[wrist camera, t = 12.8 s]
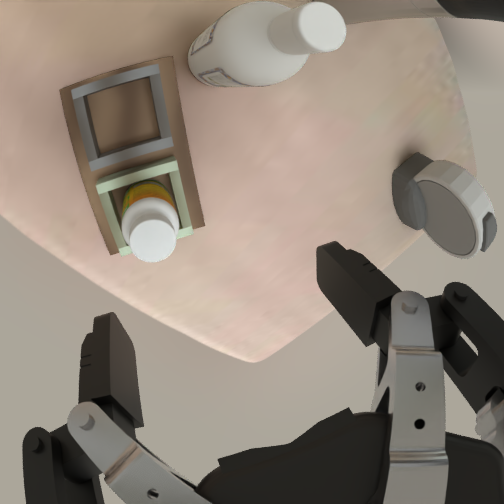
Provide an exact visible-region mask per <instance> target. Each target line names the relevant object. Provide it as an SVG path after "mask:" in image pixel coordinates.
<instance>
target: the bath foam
mask: <svg viewBox="0 0 504 504" xmlns="http://www.w3.org/2000/svg"><path fill="white" fill-rule="evenodd" d="M345 37H346V25H345V22H344V20H343V18H342V16H341V15H340V13H339V12H338V11H337V10H336V9H335V8H334V7H332V6H331V5H329V4H326V3H323V2H310V3H306V4H304V5H301V6H298V7H296V8H293V9H290V8H289V7H287V6H284V5H282V4H279V3H275V2H269V1H256V2H250V3H245V4H242V5H239V6H237V7H234V8H232V9H231V10H229V11H228V12H226V13H225V14H224V15H223V16H221V17H220V18H219V19H218V20H217V21H215V22H214V23H213V24H212V25H211V26H209V27H208V28H207V29H206V30H205V31H204V32H203V33H201V34H200V35H199V36H198V37H197V38H196V39H195V40H194V42H193V43H192V45H191V47H190V49H189V52H188V65H189V68H190V70H191V72H192V74H193V75H194V76H195V77H196V78H197V79H198V80H199V81H200V82H202V83H204V84H206V85H209V86H213V87H249V86H269V85H273V84H276V83H279V82H282V81H284V80H286V79H288V78H290V77H291V76H293V75H294V74H296V73H297V72H298V71H299V70H300V69H301V68H302V67H303V65H304V64H305V62H306V61H307V59H308V57H309V54H315V53H325V52H331V51H334V50H336V49H338V48H339V47H340V46H341V45H342V44H343V42H344V40H345Z"/></svg>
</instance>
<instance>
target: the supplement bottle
mask: <svg viewBox="0 0 504 504" xmlns="http://www.w3.org/2000/svg"><path fill="white" fill-rule="evenodd" d="M178 231H179V219H178V215H177V212H176V210H175V207H174V204H173V201H172V198H171V195H170V193H169V191H168V189H167V188H166V187H165V186H164V185H163V184H162V183H161V182H159V181H157V180H153V179H145V180H141V181H138V182H135V183H134V184H133V185H131V186H130V187H129V189H128V190H127V191H126V193H125V196H124V200H123V211H122V234H123V237H124V239H125V241H126V243H127V244H128V245H129V246H130V249H131V251H132V252H133V254H134V255H135V256H136V257H137V258H139V259H140V260H142V261H145V262H158V261H161V260H163V259H165V258H167V257H168V256H169V255H170V254H171V253H172V252H173V250H174V248H175V245H176V237H177V235H178Z"/></svg>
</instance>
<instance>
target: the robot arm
mask: <svg viewBox="0 0 504 504" xmlns="http://www.w3.org/2000/svg"><path fill="white" fill-rule="evenodd" d="M313 2H323V3H326V4H329V5H331V6H332V7H334V8H335V9H336V10H337V11H338V12H339V13H340V15H341V16H342V18H343V20H344V22H345V24H353V23H360V22H369V21H377V20H388V19H401V18H430V17H447V18H448V17H449V18H470V19H485V20H494V21H502V22H504V0H313ZM316 257H317V282H318V285H319V288H320V289H321V291H322V292H323V294H324V295H325V296H326V297H327V299H328V300H329V301H330V302H331V304H332V305H333V306H334V307H335V309H336V310H337V311H338V312H339V314H340V315H341V316H342V317H343V319H344V320H345V321H346V322H347V324H349V326H350V327H351V329H352V330H353V331H354V332H355V333H356V335H357V336H358V337H359V339H360V340H361V341H362V343H363V344H364V345H365V346H366V347H367V346H369V345H371V344H373V343H375V342H376V343H377V345H378V346H379V348H378V358H377V359H378V360H377V372H376V385H375V393H374V398H373V402H372V406H371V411H370V412H361V413H355V414H353V413H352V412H351V410H350V409H349V407H348V408H347V409H344V410H343V411H340V412H339V413H336V414H335V415H332V416H330V417H328V418H326V419H324V420H322V421H320V422H318V423H317V424H316V425H314V426H313V427H312V428H310V429H309V430H308V431H306V432H305V433H304V434H302V435H301V436H299V437H298V438H297V439H295V440H294V441H293V442H291V443H289V444H285V445H278V446H271V447H262V448H254V449H249V450H246V451H242V452H239V453H236V454H233V455H230V456H226V457H223V458H219V459H218V462H219V465H220V466H219V467H217V468H216V469H215V470H213V471H212V472H210V473H209V474H208V475H207V476H205V477H204V478H203V479H202V481H201V482H200V483H199V484H198V486H197V485H195V484H194V483H193V482H191V481H190V480H189V479H187V478H185V477H184V476H183V475H181V474H180V473H178V472H177V471H175V470H174V469H172V468H171V467H170V466H169V465H167V464H166V463H165V462H164V461H163V460H161V459H160V458H159V457H158V456H156V455H155V454H154V453H153V452H152V451H150V450H149V449H148V448H147V447H146V446H145V445H143V444H142V443H141V442H140V441H139V440H138V439H137V438H136V435H135V428H139V427H144V423H143V417H142V410H141V403H140V395H139V387H138V378H137V368H136V357H135V350H134V346H133V343H132V341H131V339H130V337H129V336H128V334H127V332H126V331H125V329H124V328H123V326H122V324H121V323H120V321H119V319H118V318H117V316H116V314H115V313H114V312H110V313H107V314H104V315H101V316H97V317H95V318H94V324H93V332H92V333H89V334H87V335H86V337H85V339H84V342H83V344H82V347H81V360H80V367H81V369H80V375H79V402H78V405H76V406H75V407H74V408H73V409H72V411H71V412H70V414H69V416H68V421H67V424H65V425H63V426H62V427H60V428H58V429H56V430H54V431H52V432H50V433H49V432H48V431H46V430H45V429H43V428H41V427H35V428H32V429H31V430H29V431H28V433H27V434H26V435H25V438H24V440H23V474H24V488H25V497H26V504H104V500H103V495H102V490H101V486H100V481H99V474H101V473H104V475H105V478H104V480H105V482H106V484H107V485H108V486H109V487H110V488H111V489H112V490H113V491H114V492H115V493H116V494H117V495H118V496H119V497H120V498H121V499H122V500H123V501H124V502H125V503H126V504H504V321H503V320H502V319H501V317H500V316H499V315H498V314H497V313H496V312H495V311H494V310H493V309H492V308H491V307H490V306H489V305H488V304H487V303H486V302H485V301H484V300H483V299H482V298H481V297H480V296H478V294H477V293H475V292H474V291H473V290H472V289H471V288H470V287H469V286H467V285H466V284H463V283H460V282H452V283H449V284H447V286H446V287H445V289H444V291H443V294H442V295H439V296H434V297H429V298H424V297H423V296H422V295H420V294H419V293H416V292H413V291H401V290H400V289H399V288H398V287H397V286H396V285H395V284H394V283H393V282H392V281H391V280H390V279H389V278H388V277H387V276H385V275H384V274H383V273H382V272H381V271H380V270H379V269H377V267H376V266H375V265H373V264H372V263H370V261H369V260H368V259H367V258H366V257H365V256H364V255H362V254H361V253H358V252H356V251H354V250H351V249H349V250H346V249H345V248H344V247H343V246H342V245H340V244H339V243H338V242H337V241H333V242H330V243H327V244H324V245H321V246H318V247H317V251H316ZM462 331H463V332H464V334H465V335H466V336H467V337H468V338H469V339H470V340H471V342H472V343H473V344H474V345H475V346H476V348H477V350H478V356H477V354H476V353H475V352H474V351H473V350H472V349H471V347H470V346H469V345H468V344H467V343H466V342H465V340H464V339H463V338H462V337H461V336H460V334H461V332H462ZM443 369H444V370H445V372H446V373H447V374H448V375H449V377H450V378H451V380H452V381H453V382H454V384H455V385H456V386H457V388H458V389H459V390H460V392H461V393H462V394H463V396H464V397H465V398H466V400H467V401H468V403H469V404H470V406H471V407H472V408H473V410H474V411H475V413H476V414H477V418H476V423H477V425H476V427H475V431H476V433H477V434H478V435H481V440H478V439H474V438H470V437H465V436H461V435H457V434H453V433H449V432H446V431H445V386H444V370H443Z"/></svg>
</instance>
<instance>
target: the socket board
mask: <svg viewBox="0 0 504 504" xmlns="http://www.w3.org/2000/svg"><path fill="white" fill-rule="evenodd" d="M60 95H61V100H62V105H63V109H64V114H65V118H66V122H67V126H68V130H69V134H70V138H71V142H72V146H73V149H74V153H75V156H76V160H77V163H78V167H79V170H80V173H81V176H82V180H83V183H84V186H85V189H86V192H87V195H88V198H89V201H90V203H91V206H92V209H93V212H94V215H95V217H96V220H97V223H98V225H99V228H100V231H101V233H102V236H103V238H104V241H105V243H106V246H107V248H108V251H109V253H110V255H113V254H116V253H119V252H120V254H121V257H122V256H125V255H128V254H131V253H133V252H132V251H131V249H130V246H129V245H128V244H127V243H126V241H125V239H124V237H123V234H122V211H123V200H124V196H125V193H126V191H127V190H128V189H129V187H130V186H131V185H133V184H134V183H135V182H138V181H141V180H145V179H153V180H157V181H159V182H161V183H162V184H163V185H164V186H165V187H166V188H167V189H168V191H169V193H170V195H171V198H172V201H173V204H174V207H175V210H176V212H177V215H178V219H179V231H178V235H177V237H176V239H179V238H182V237H185V236H188V235H192V234H194V233H193V229H196V228H199V227H203V226H205V223H204V218H203V214H202V209H201V204H200V200H199V195H198V190H197V186H196V181H195V176H194V171H193V166H192V161H191V156H190V151H189V146H188V141H187V135H186V130H185V125H184V119H183V114H182V108H181V103H180V97H179V91H178V85H177V79H176V73H175V67H174V61H173V56H170V57H165V58H160V59H156V60H151V61H147V62H143V63H139V64H135V65H131V66H128V67H124V68H121V69H117V70H114V71H111V72H107V73H104V74H101V75H98V76H95V77H92V78H89V79H86V80H84V81H81V82H78V83H76V84H73V85H70V86H68V87H65V88H63V89H60Z"/></svg>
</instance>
